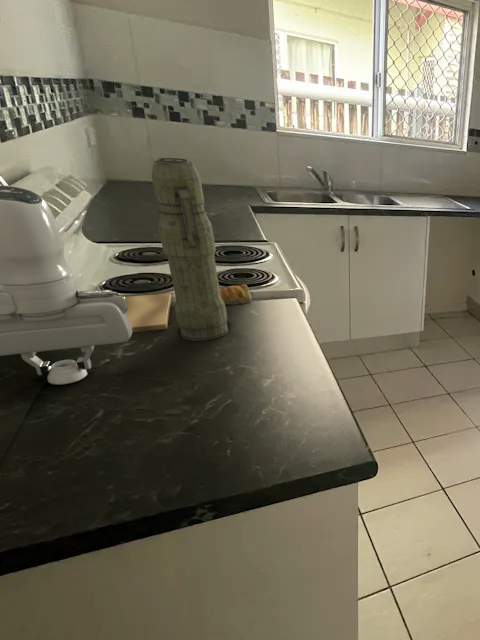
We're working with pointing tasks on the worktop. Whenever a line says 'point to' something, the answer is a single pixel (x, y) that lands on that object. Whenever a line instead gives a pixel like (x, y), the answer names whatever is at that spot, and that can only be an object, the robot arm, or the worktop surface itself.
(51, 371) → the white bowl
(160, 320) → the board
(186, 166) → the beige stone tall figure
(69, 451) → the worktop surface
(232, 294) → the pastry
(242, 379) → the worktop surface
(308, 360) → the worktop surface
